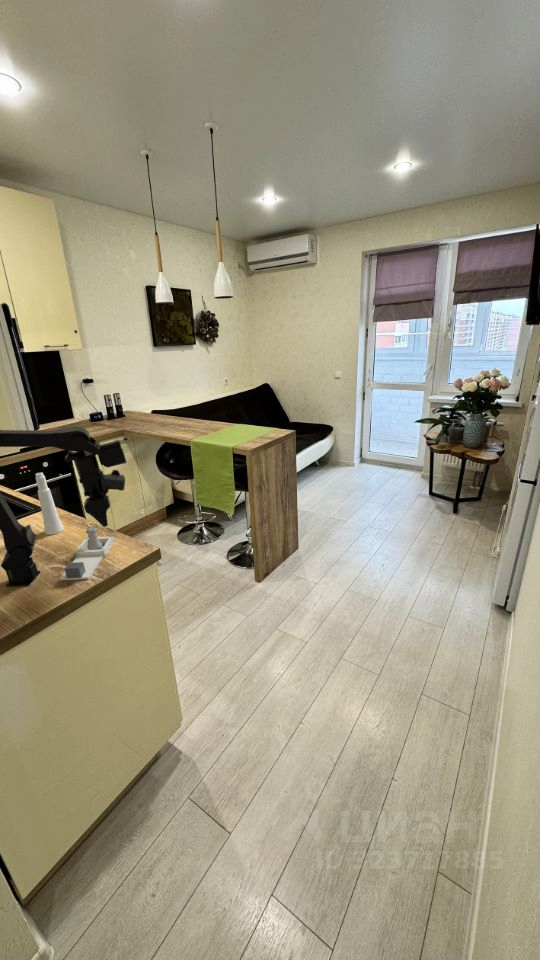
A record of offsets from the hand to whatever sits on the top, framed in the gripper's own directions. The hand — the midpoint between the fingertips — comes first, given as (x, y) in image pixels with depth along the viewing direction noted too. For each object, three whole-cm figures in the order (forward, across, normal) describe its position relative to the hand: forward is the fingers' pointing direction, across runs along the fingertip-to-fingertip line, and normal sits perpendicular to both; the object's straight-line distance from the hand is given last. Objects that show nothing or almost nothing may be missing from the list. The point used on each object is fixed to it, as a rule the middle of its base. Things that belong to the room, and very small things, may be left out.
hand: (105, 519), depth 112 cm
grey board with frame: (+13, +3, +9) cm, 16 cm away
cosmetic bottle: (+12, +29, +20) cm, 37 cm away
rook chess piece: (+14, +8, +6) cm, 17 cm away
